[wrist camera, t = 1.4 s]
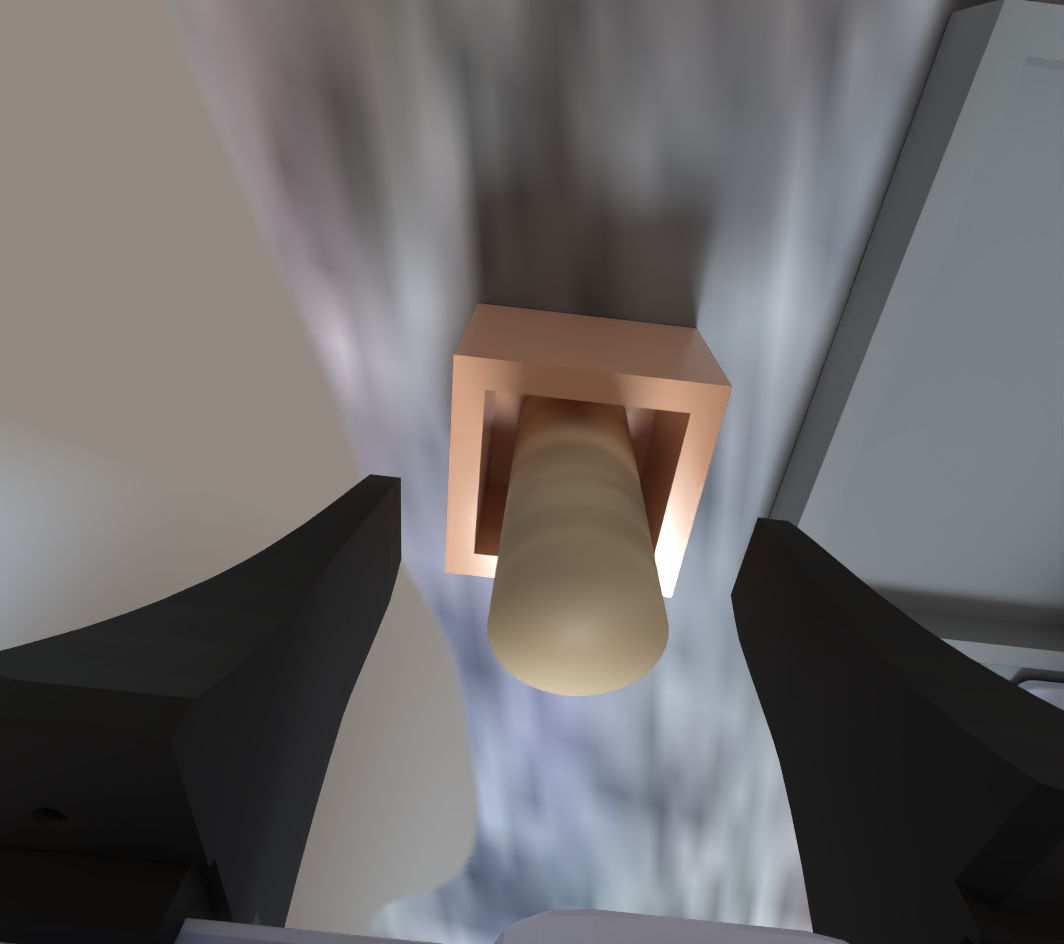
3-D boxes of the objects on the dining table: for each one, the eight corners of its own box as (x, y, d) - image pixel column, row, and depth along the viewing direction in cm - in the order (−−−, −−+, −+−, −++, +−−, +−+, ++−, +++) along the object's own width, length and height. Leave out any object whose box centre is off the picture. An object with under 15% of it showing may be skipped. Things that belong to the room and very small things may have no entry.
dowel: (616, 476, 18) (648, 704, 11) (514, 465, 18) (481, 686, 11) (636, 380, 16) (687, 575, 9) (524, 367, 16) (493, 553, 9)
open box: (652, 510, 19) (671, 597, 16) (466, 489, 19) (444, 572, 16) (696, 328, 16) (732, 386, 13) (477, 303, 16) (453, 354, 13)
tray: (1061, 634, 21) (1101, 675, 19) (739, 598, 21) (754, 637, 19) (1474, 75, 13) (1600, 70, 11) (951, 11, 13) (1005, -2, 11)
